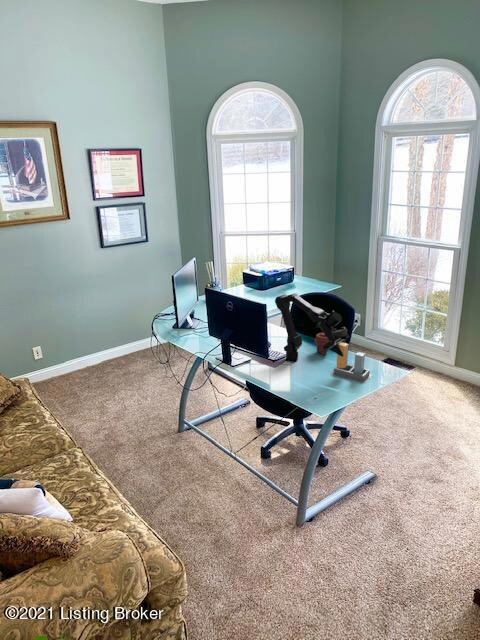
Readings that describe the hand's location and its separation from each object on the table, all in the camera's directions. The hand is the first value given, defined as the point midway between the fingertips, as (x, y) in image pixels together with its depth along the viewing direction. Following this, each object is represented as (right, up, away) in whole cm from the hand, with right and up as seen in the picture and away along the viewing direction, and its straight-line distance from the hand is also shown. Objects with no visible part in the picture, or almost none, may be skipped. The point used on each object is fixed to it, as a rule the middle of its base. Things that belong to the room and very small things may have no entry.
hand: (344, 354), depth 252 cm
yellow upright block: (-1, -6, +3) cm, 7 cm away
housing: (+5, -12, +7) cm, 15 cm away
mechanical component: (-6, -1, +36) cm, 36 cm away
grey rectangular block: (+8, -12, +5) cm, 15 cm away
